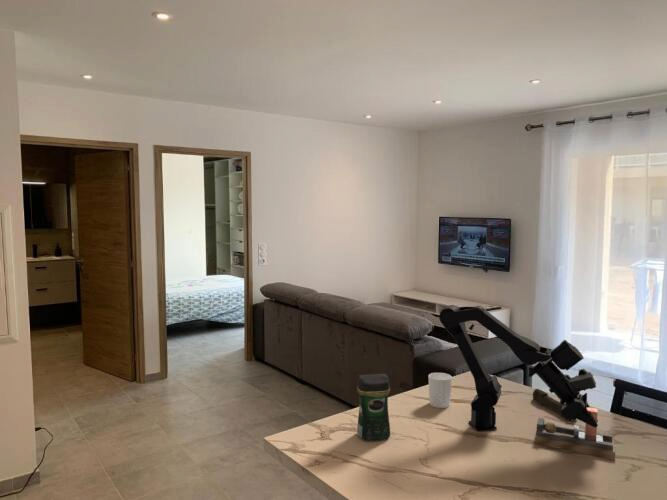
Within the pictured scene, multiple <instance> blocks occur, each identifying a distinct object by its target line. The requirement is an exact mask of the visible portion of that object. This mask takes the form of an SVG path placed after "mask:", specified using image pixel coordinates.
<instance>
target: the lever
mask: <svg viewBox="0 0 667 500" xmlns="http://www.w3.org/2000/svg"><path fill="white" fill-rule="evenodd" d="M587 410H588V411H589V412H590V414H591V415H592V417H593V418H594V420H595V421H596V423H597V424H598V422H597V420H598V408H593V407H590V408H589V407H587ZM584 427H585V428H584V429H585V430H584V431H585V432H580V431H579V430H580V425H575V424H574V426H573V429H574V437H575V438H581V439H586V440H591V441H596V442H601V443H603V436H601V435H597V433H598V431H597V430H598V426H597V427H593V426H591V425H589V424H587V423H585V425H584Z"/></svg>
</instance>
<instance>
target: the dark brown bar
mask: <svg viewBox="0 0 667 500" xmlns="http://www.w3.org/2000/svg"><path fill="white" fill-rule="evenodd" d="M532 399H533V401H534V402H536V403H537V404H539V405H540V406H545V407H547V408H548V409H550V410H552V411H554V412H556V413H557V414H559V415H561V410H562V406H563V405H564V404H563V405H562V404H561V403H560V401H558V400H556V399H554V398H553V397H551V396H549V395H548V393H547V392H545V391H544V390H542V389H540V388H536V389H534V390H533V392H532ZM576 420H577V419H576V418H573V417H571V418H570V419H568V420H567V421H568V422H570V421H576Z"/></svg>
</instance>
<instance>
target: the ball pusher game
mask: <svg viewBox="0 0 667 500" xmlns="http://www.w3.org/2000/svg"><path fill="white" fill-rule="evenodd" d="M545 424H546V423H545V418H543V417H538V418H537V423H536V431H535V434H534V435H535V436H534V444H537V445H541V446H546V447H551V448H556V449H562V450H565V451H571V452H576V453H581V454H586V455H590V456H595V457H600V458H605V459H611V460H615V459H616V446H615V438H613V435H609V434H605V433H598V432H597V435H601V436H603V443H601V442H596V441H591V440H586V439H581V438H575V437H574V428H572V427H566V426H561V425H556V432H555V433H549V432H546V430H545ZM579 431H580V432H585V430H582V429H579Z"/></svg>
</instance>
